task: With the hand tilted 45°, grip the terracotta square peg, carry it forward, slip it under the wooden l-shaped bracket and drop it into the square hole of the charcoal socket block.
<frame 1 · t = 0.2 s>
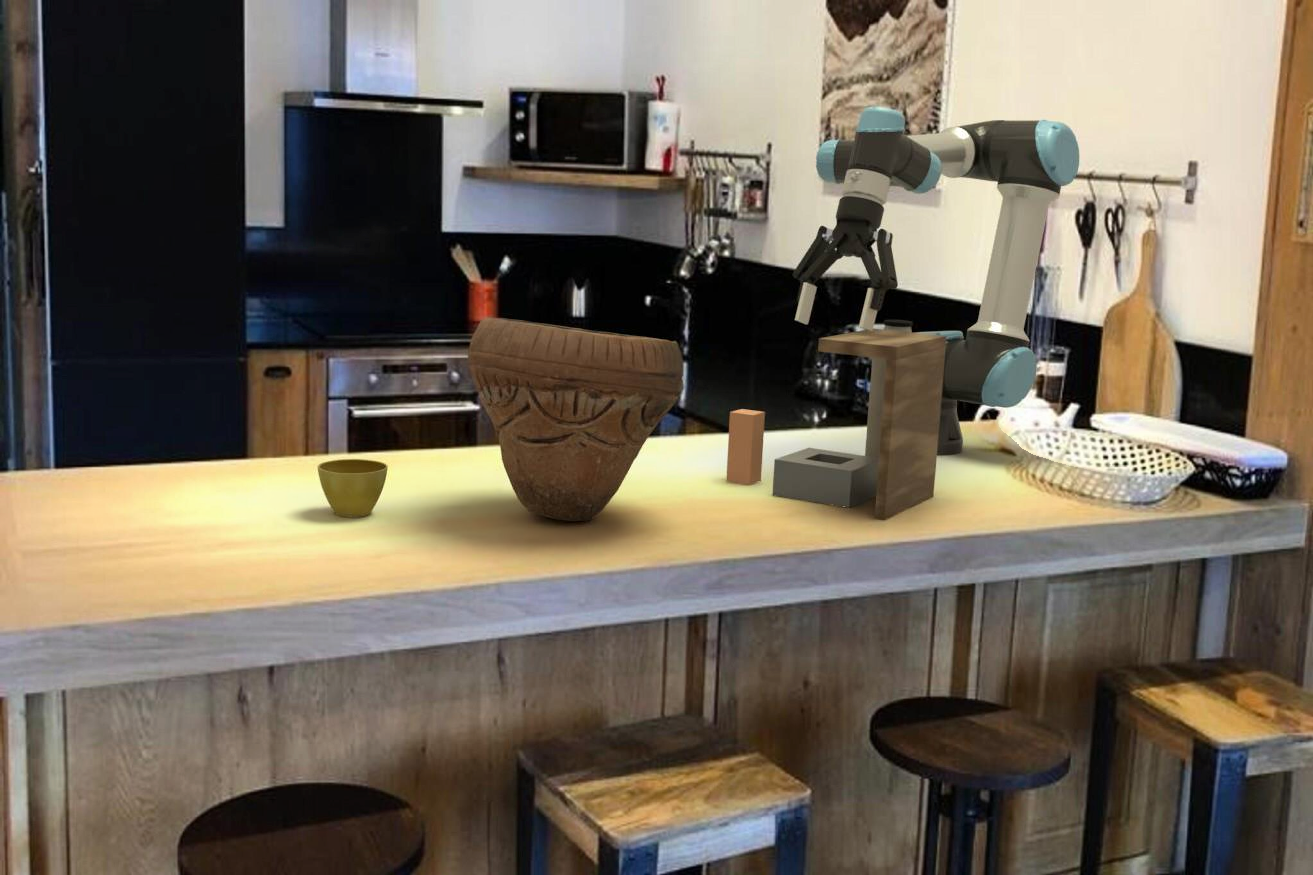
hand: (832, 325, 243), 28 cm above the counter, tool tilted 15°, fingers open, 13 cm apart
wooden l-shaped bracket: (878, 420, 239), on the counter
flower pot: (352, 514, 218), on the counter
thermos bottle: (886, 479, 260), on the counter
peg: (743, 481, 253), on the counter
socket: (827, 494, 245), on the counter
pot: (571, 516, 223), on the counter
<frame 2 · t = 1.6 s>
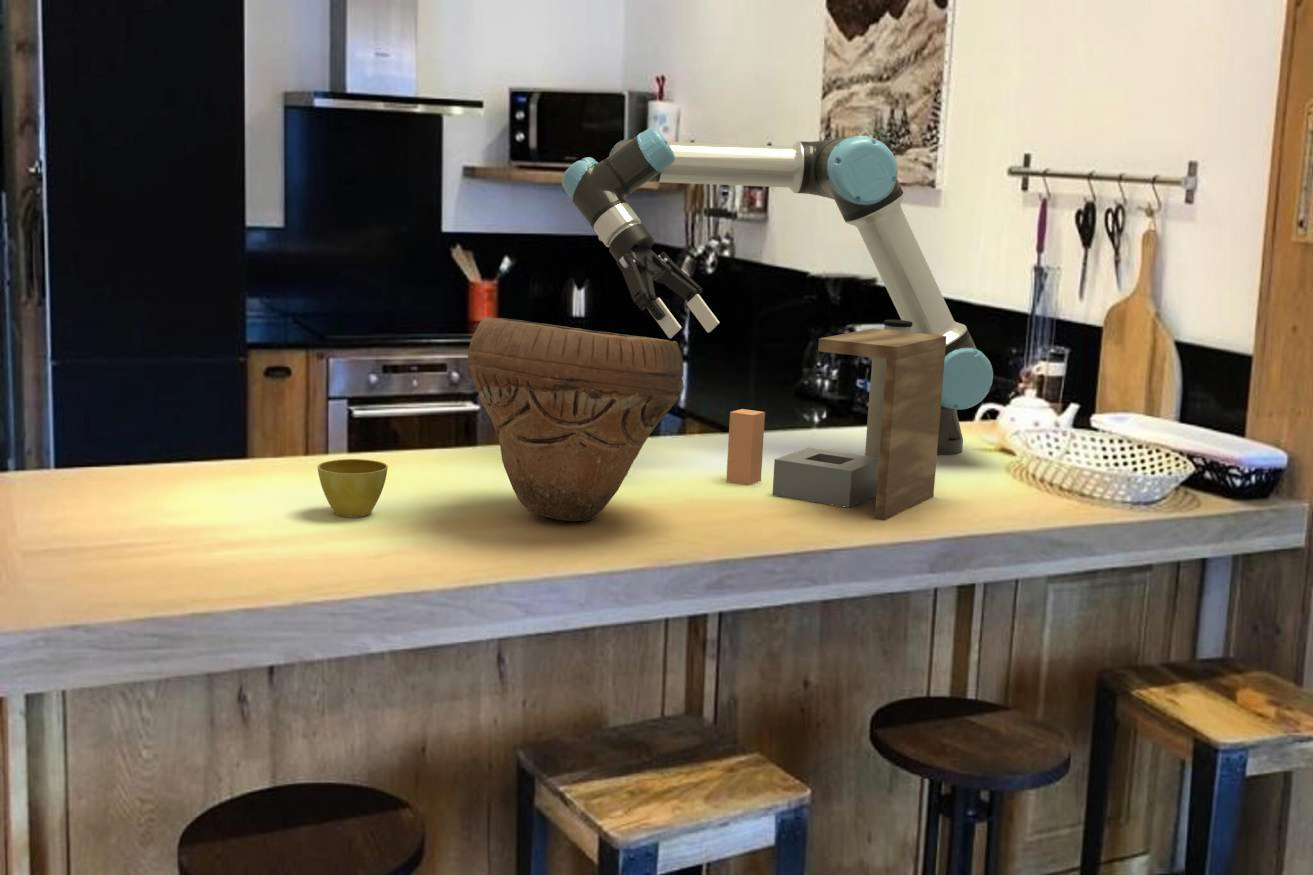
hand: (695, 330, 253), 25 cm above the counter, tool tilted 45°, fingers open, 13 cm apart
nothing on the counter moved.
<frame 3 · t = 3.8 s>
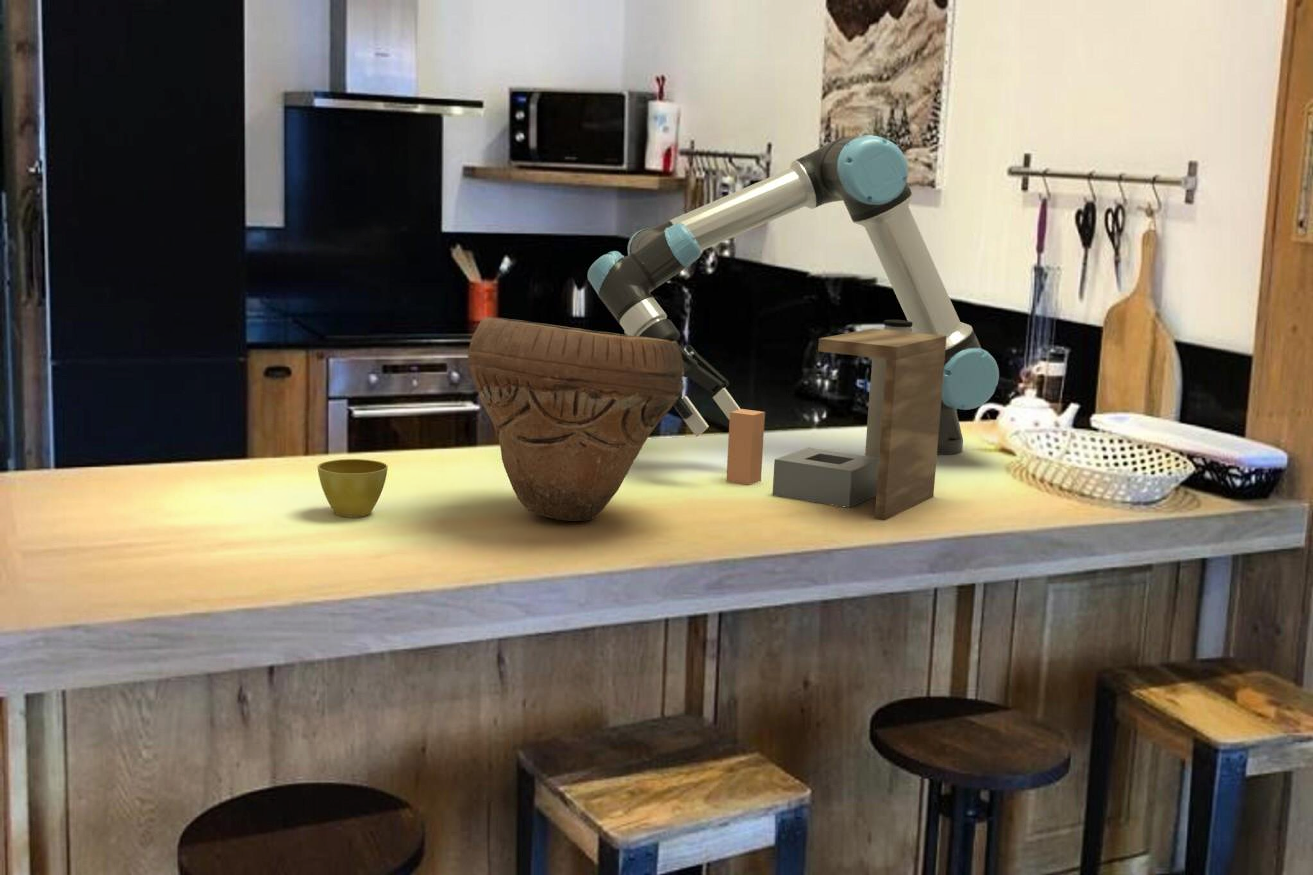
hand: (722, 426, 253), 9 cm above the counter, tool tilted 45°, fingers open, 13 cm apart
nothing on the counter moved.
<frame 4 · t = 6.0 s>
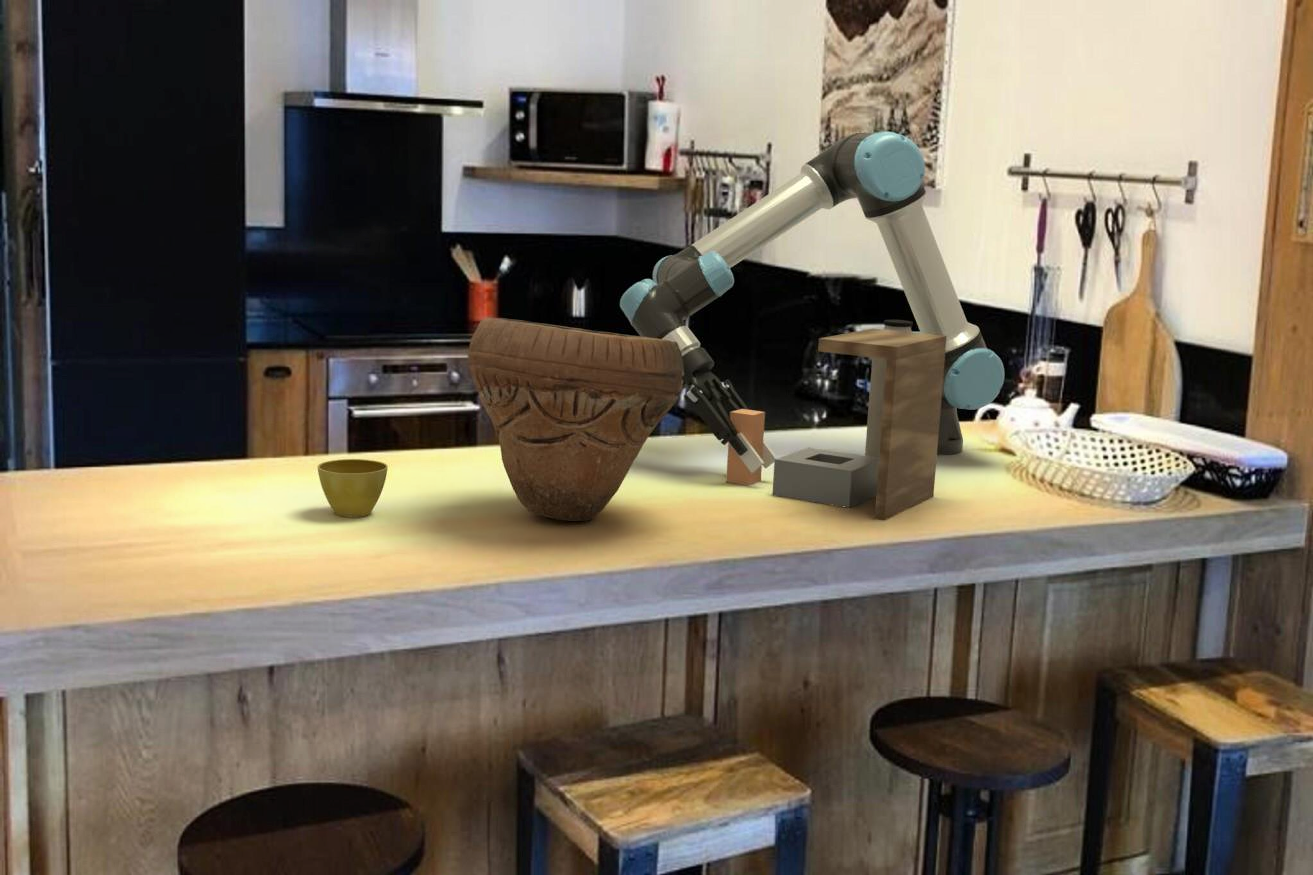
hand: (764, 465, 250), 3 cm above the counter, tool tilted 45°, fingers closed on peg, 4 cm apart
peg: (743, 481, 253), on the counter, touching gripper
everything else where it was.
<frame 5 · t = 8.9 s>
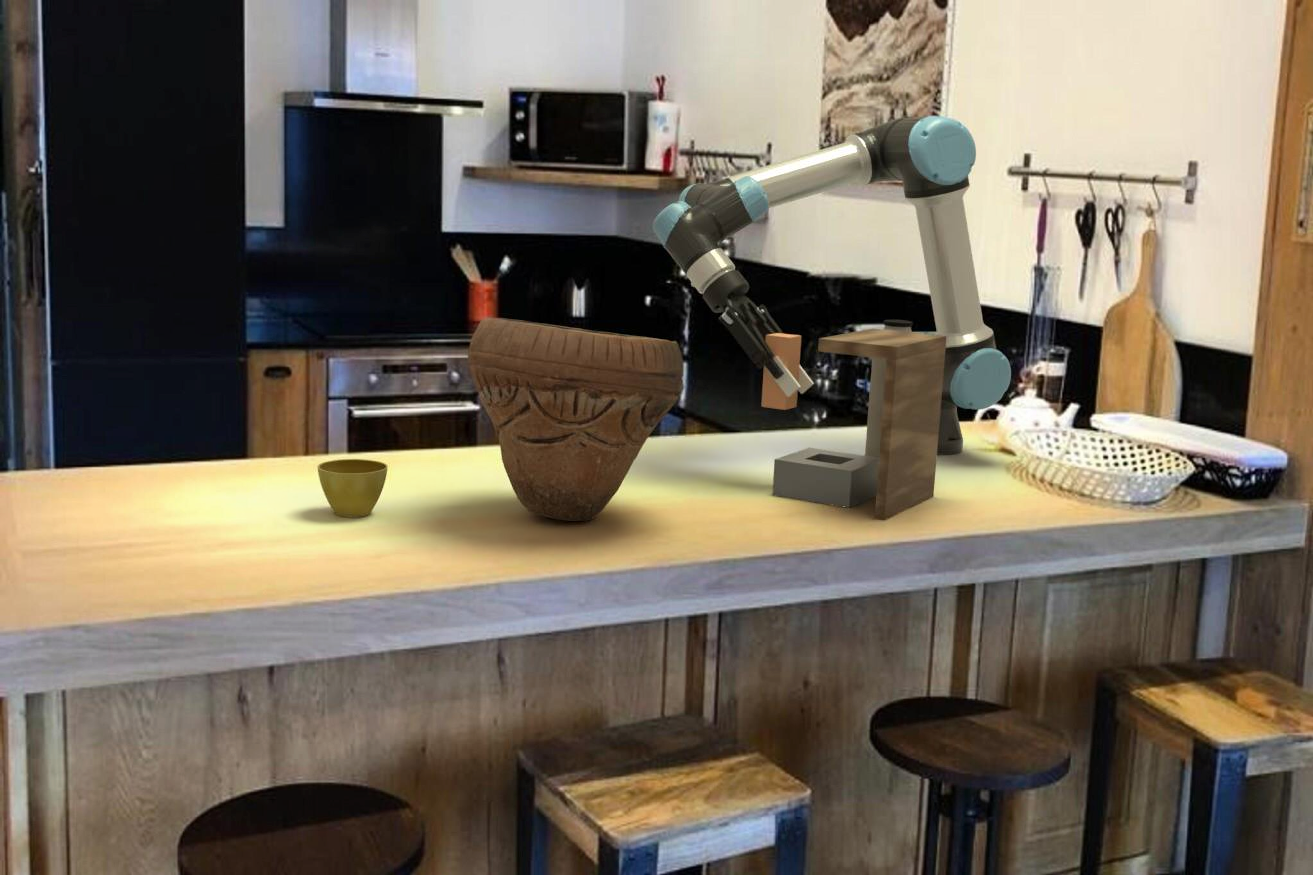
hand: (800, 390, 245), 17 cm above the counter, tool tilted 45°, fingers closed on peg, 4 cm apart
peg: (779, 406, 247), point 14 cm above the counter, touching gripper
everything else where it was.
when the fingers open (8 cm above the counter, at t = 12.0 s): peg drops 4 cm, resting in socket.
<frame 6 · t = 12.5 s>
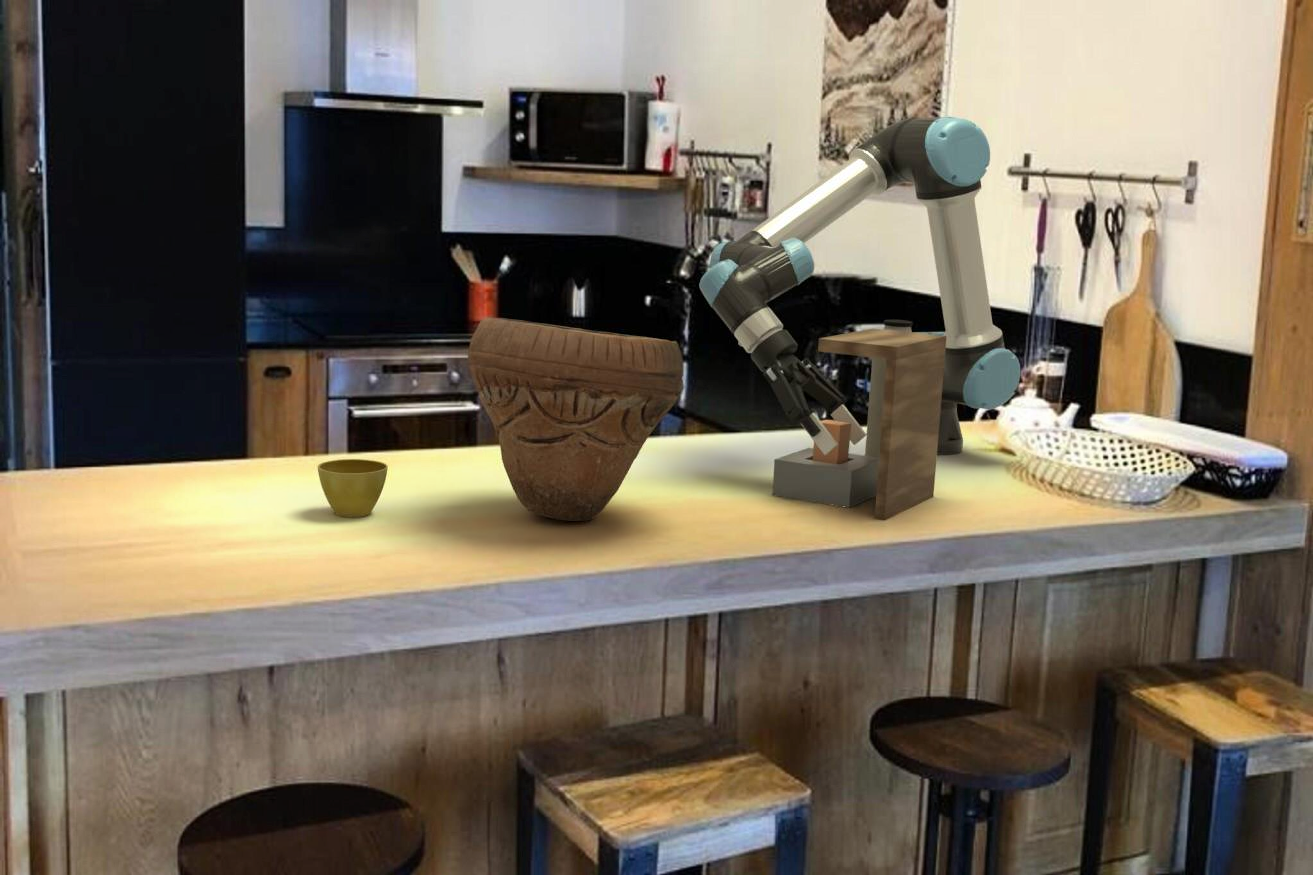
hand: (846, 444, 243), 9 cm above the counter, tool tilted 45°, fingers open, 11 cm apart
peg: (827, 493, 246), resting in socket
everything else where it was.
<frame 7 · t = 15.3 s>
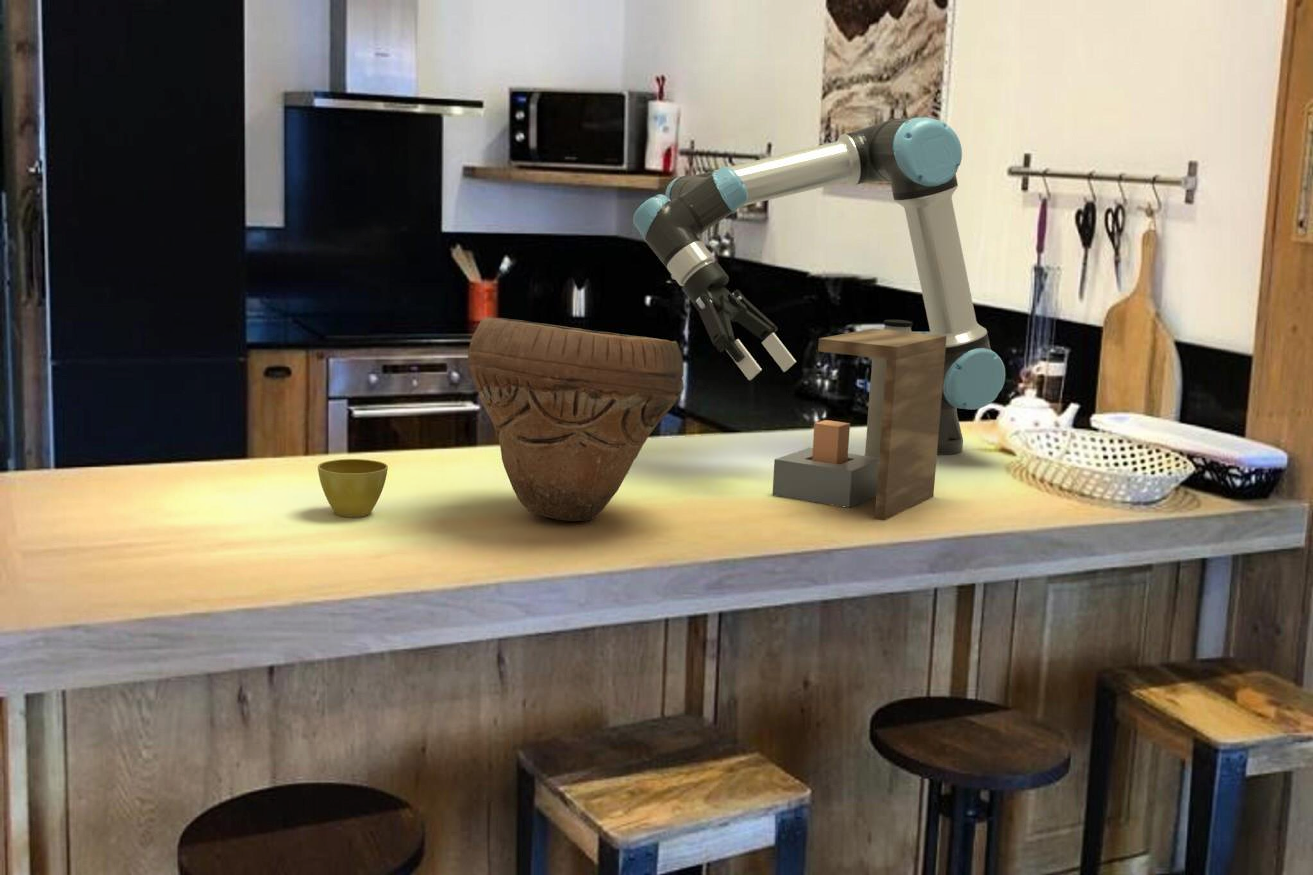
hand: (773, 371, 249), 19 cm above the counter, tool tilted 45°, fingers open, 13 cm apart
nothing on the counter moved.
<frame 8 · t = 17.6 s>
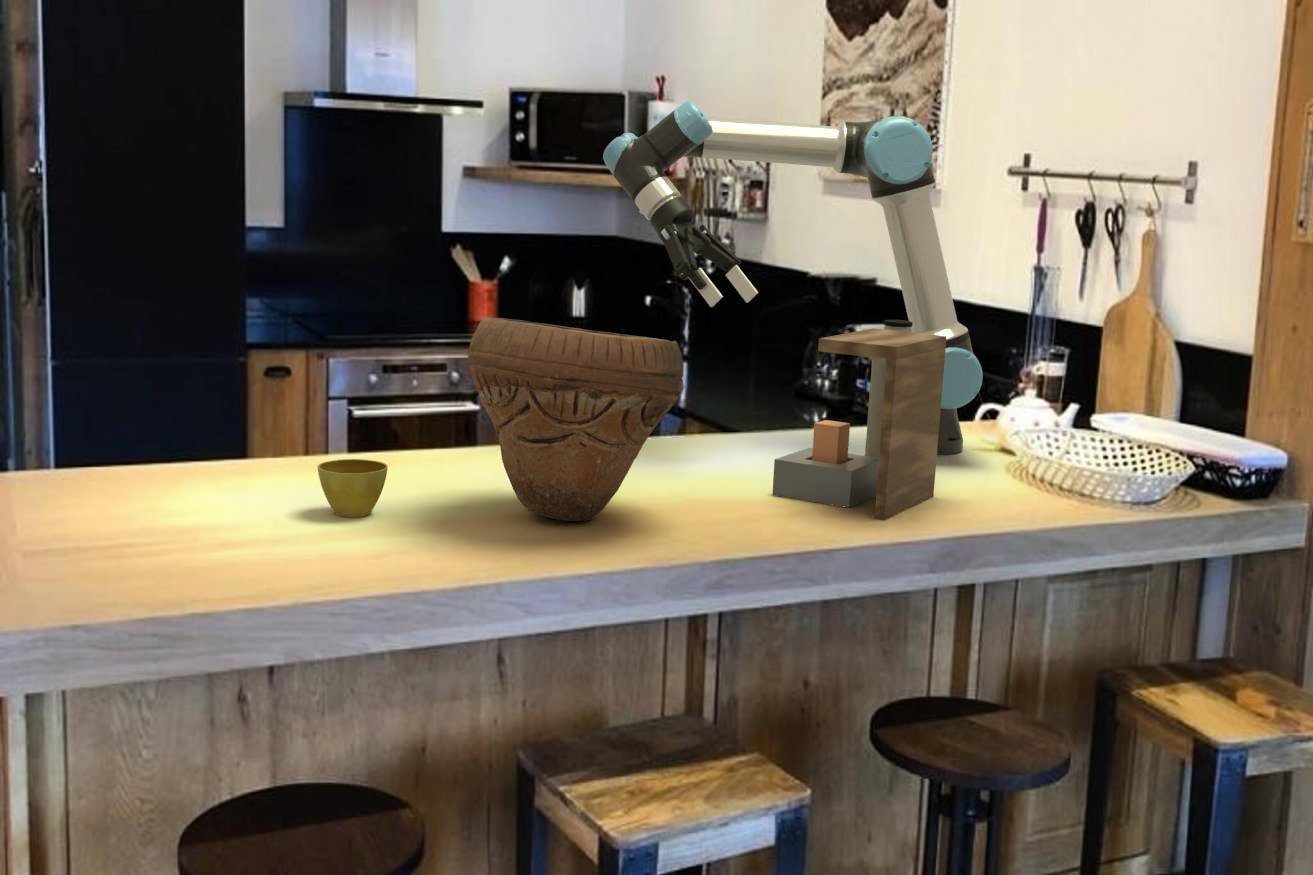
hand: (735, 300, 261), 30 cm above the counter, tool tilted 45°, fingers open, 13 cm apart
nothing on the counter moved.
at the end: peg 0.1 cm off-centre on the socket, point 0.0 cm above the socket's base; peg tilted 0°; the gripper is holding nothing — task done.
